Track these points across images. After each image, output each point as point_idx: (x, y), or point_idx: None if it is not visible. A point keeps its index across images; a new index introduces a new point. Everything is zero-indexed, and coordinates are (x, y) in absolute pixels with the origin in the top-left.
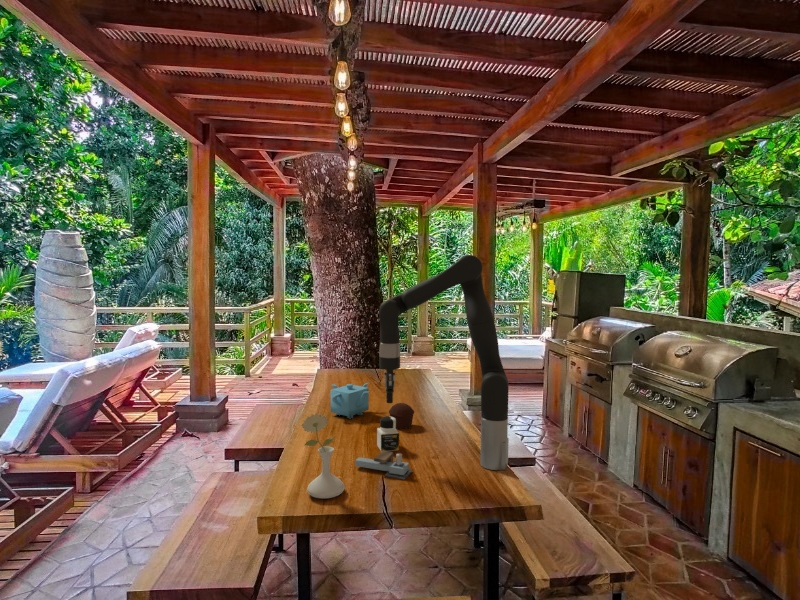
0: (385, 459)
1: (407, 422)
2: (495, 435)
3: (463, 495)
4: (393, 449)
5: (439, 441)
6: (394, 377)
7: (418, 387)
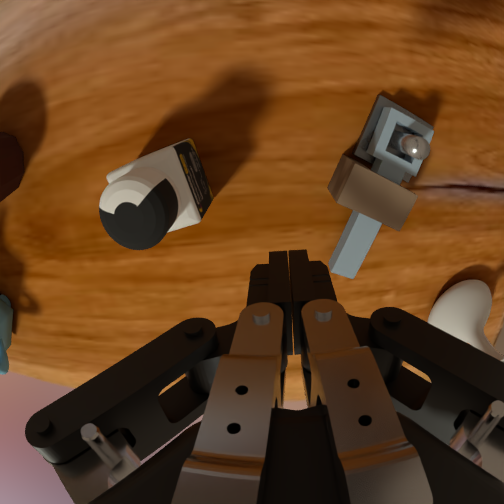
0: (413, 193)
1: (4, 143)
2: None
3: (490, 8)
4: (198, 157)
5: (102, 14)
6: (416, 477)
7: None
